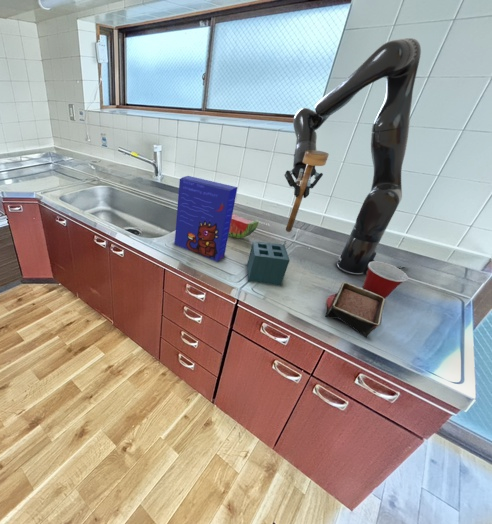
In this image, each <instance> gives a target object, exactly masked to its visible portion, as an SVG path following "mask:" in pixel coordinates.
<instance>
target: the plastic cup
mask: <svg viewBox="0 0 492 524" xmlns="http://www.w3.org/2000/svg"><path fill="white" fill-rule="evenodd" d="M397 267H398V266H395V265H392V264H390V263H386V262H384V261H379V260H378V261H376V260H374V261H372V262H369V264H368V271H367V273H366V275H365V279H364V283H363V285H362V288H363V289H365V290H368V291H370V292H373V293H375V294H377V295H379V296H381V297H383V298H384V299H386V298H387V297H388V296H390V295H391V294H392V293H393V292H394V290H395V289H397V287H398V286H400V285H401V284H403V282H407V281H408V280H409V276H408V275H407V273H406V272H405V271H403V269H399V268H397Z"/></svg>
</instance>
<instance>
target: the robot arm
mask: <svg viewBox="0 0 492 524" xmlns="http://www.w3.org/2000/svg"><path fill="white" fill-rule="evenodd" d="M421 54H422V47H421V43H420V42H419V41H418V40H417V39H415V38H413V37H409V38H399V39H398V38H397V39H392V40H389V41H386V42H385V43H383V44H382V45H381V46H379V47H378V48H377V49H376V50H375V51H374V52H373V53H372V54H370V55H369V56H368V58H367V59H366V60H364V62H363V63H361V65H359V67H358V68H357V69H356V70H354V71H353V72H352V73H351V75H349V76H348V77H347V78H346V79H345V80H344V81H343V82H341V83H340V84H339V85H338V86H336V87H335V88H334V89H332V90H331V91H329V92H328V93H327V94H326V95H324V96H323V97H322V98H321V99H319V100H318V101H317V102H316V104H315V105H314V110H313V109H310V108H307V107H302V108H300V109H298V111H297V112H296V113H295V115H294V117H293V130H294V134H295V139H296V140H295V149H294V153H293V164H292V169H291V170H286V171H285V173H284V174H283V175H284V178H285V179H286V182H287V184H288V186H289V187H290V188H292V187H293V189H294V190H293V195H294V197H295V198H296V197H298V196H299V193H300V184H301V181H302V178H303V175H304V172H305V169H306V166H307V164H305V163H303V162H302V161H303V158H304V155H305V152H306V151H310V150H316V151H317V137H318V135H317V132H316V131H317V130H318V129H320V127H322V125H323V124H324V123H325V122H326V121H327V120H328V119H329V118H330V116H332V115H333V114H335V113H336V112H338V111H339V110H341V109H343V107H345V106H346V105H348V103H350V102H351V101H352V99H353V98H355V97H356V95H357V94H358V93H360V91H362V90H363V89H364V88H367V86H369V85H371V84H373V83H375V82H377V81H379V80H382V79H386V81H385V83H386V86H385V94H384V98H383V101H382V103H381V105H380V108H379V110H378V111H377V114H376V116H375V118H374V120H373V123H372V126H371V134H370V154H371V161H372V165H373V178H372V184H371V188H370V192H368V194H367V195H366V197H365V199H364V200H363V202H362V204H361V206H360V210H359V211H358V214H357V216H356V219H355V223H354V225H353V227H352V229H351V232H350V234H349V237H348V239H347V241H346V243H345V245H344V247H343V250H342V252H341V253H340V255H339V256H338V261H337V263H336V268H337V269H339V270H340V271H341V272H343V273H346V274H349V275H352V276H353V275H354V276H361V275H367V272H368V264H369V262H372V261H375V258H376V255H377V252H376V250H377V248H378V246H379V244H380V242H381V240H382V238H383V236H384V234H385V232H386V230H387V228H388V226H389V224H390V222H391V220H392V218H393V217H394V215H395V213H396V211H397V209H398V207H399V204H400V203H401V201H402V199H403V185H402V169H403V164H404V159H405V155H406V152H407V151H406V150H407V146H408V139H409V133H410V123H411V122H410V120H411V110H412V102H413V95H414V94H413V93H414V87H415V82H416V79H417V78H416V77H417V73H418V71H419V70H418V69H419V65H420V59H421ZM323 175H324V173H323V172H317V169H316V166H313V169H312V172H311V175H310V177H309V180H308V183H307V186H306V189H305V192H304V195H303V198H302V199H306V198H307V197H309V195H310V190H311V189H314V187H315V186H316V185H317V183H318V182H319V181H320V180H321V179H322V177H323ZM293 177H294V178H295V179H294V178H293ZM313 177H314V179H313V182H312V183H311V181H312V178H313Z"/></svg>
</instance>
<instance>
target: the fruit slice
mask: <svg viewBox="0 0 492 524" xmlns="http://www.w3.org/2000/svg"><path fill="white" fill-rule="evenodd" d="M258 225H259V221H257V220H254V221H253V220H249V219H247V218H244V217H241V216H240V215H239V216H238V215H237V214H236V213H233V214H232V219H231V224H230V229H229V234H228V237H231V238H236V239H243V238H245V237H249V236H250V235H251V234H253V232H255V231H256V229H257V228H258Z"/></svg>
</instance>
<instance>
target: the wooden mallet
mask: <svg viewBox="0 0 492 524" xmlns="http://www.w3.org/2000/svg"><path fill="white" fill-rule="evenodd" d="M329 156H330V154H329V152H326V151H323V150H317V149H316V150H310V151H306V152H305V155H304V158H303V161H302V162H303V163H305V164H307V166H306V169H305V172H304V175H303V178H302V180H301V181H300V185H299V186H300V193H299V196H298V197H295V200H294V203H293V206H292V209H291V212H290V214H289V218H288V221H287V224H286V227H285V231H286V232H287V233H290V232H292V230H293V227H294V224H295V221H296V218H297V216H298V213H299V209H300V206H301V204H302V201H303V199H304V198H303V196H304V192H305V189H306V186H307V183H308V180H309V177H310V175H311V172H312V169H313V166H315V167H324V166H325V165H326V164H327V161H328V158H329Z"/></svg>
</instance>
